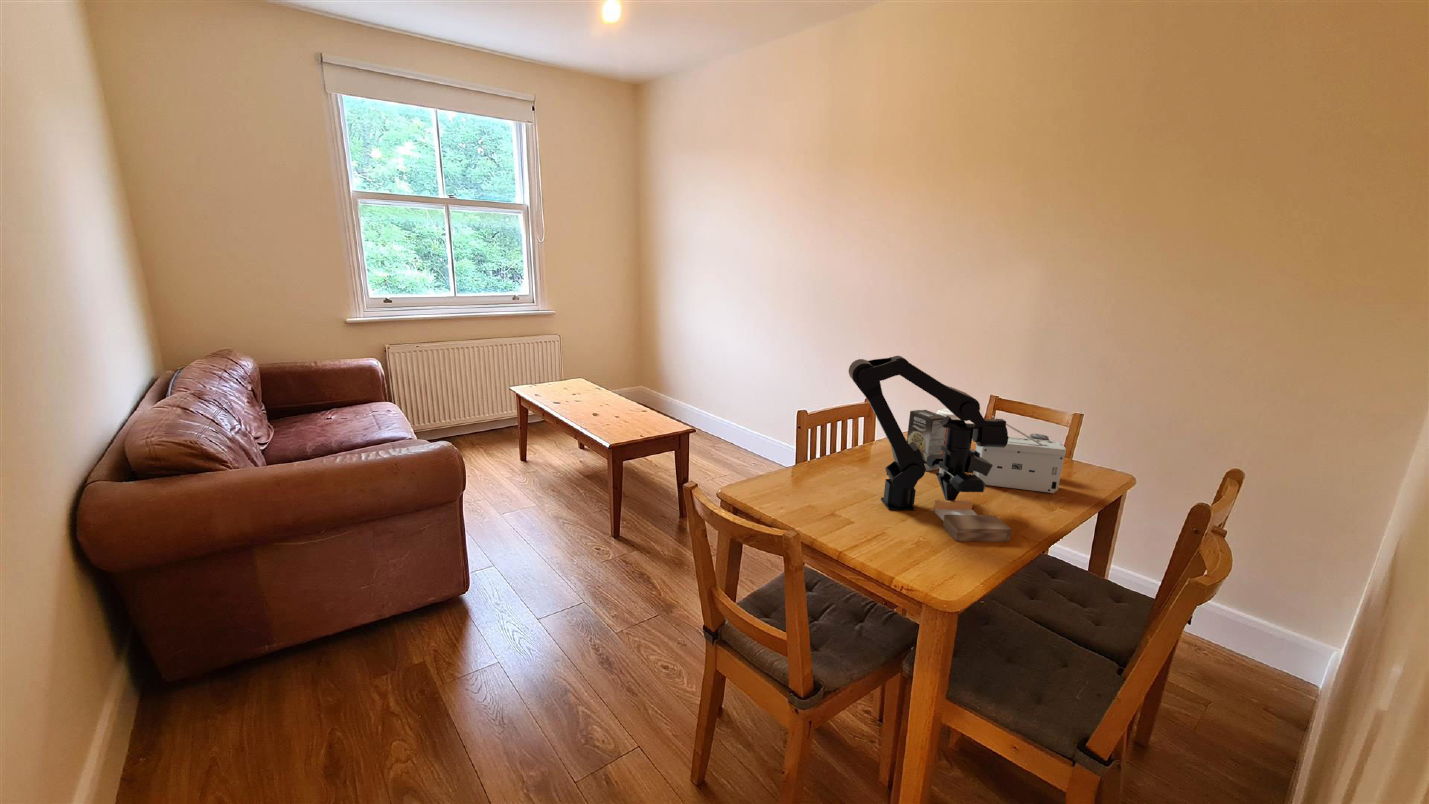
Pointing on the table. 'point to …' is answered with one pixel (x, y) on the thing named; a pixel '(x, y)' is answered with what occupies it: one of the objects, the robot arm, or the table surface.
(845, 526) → the table surface
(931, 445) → the coffee box
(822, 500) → the table surface
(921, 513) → the table surface
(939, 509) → the plate
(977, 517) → the taupe rectangular slab
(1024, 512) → the table surface
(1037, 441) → the stereo radio cassette player
